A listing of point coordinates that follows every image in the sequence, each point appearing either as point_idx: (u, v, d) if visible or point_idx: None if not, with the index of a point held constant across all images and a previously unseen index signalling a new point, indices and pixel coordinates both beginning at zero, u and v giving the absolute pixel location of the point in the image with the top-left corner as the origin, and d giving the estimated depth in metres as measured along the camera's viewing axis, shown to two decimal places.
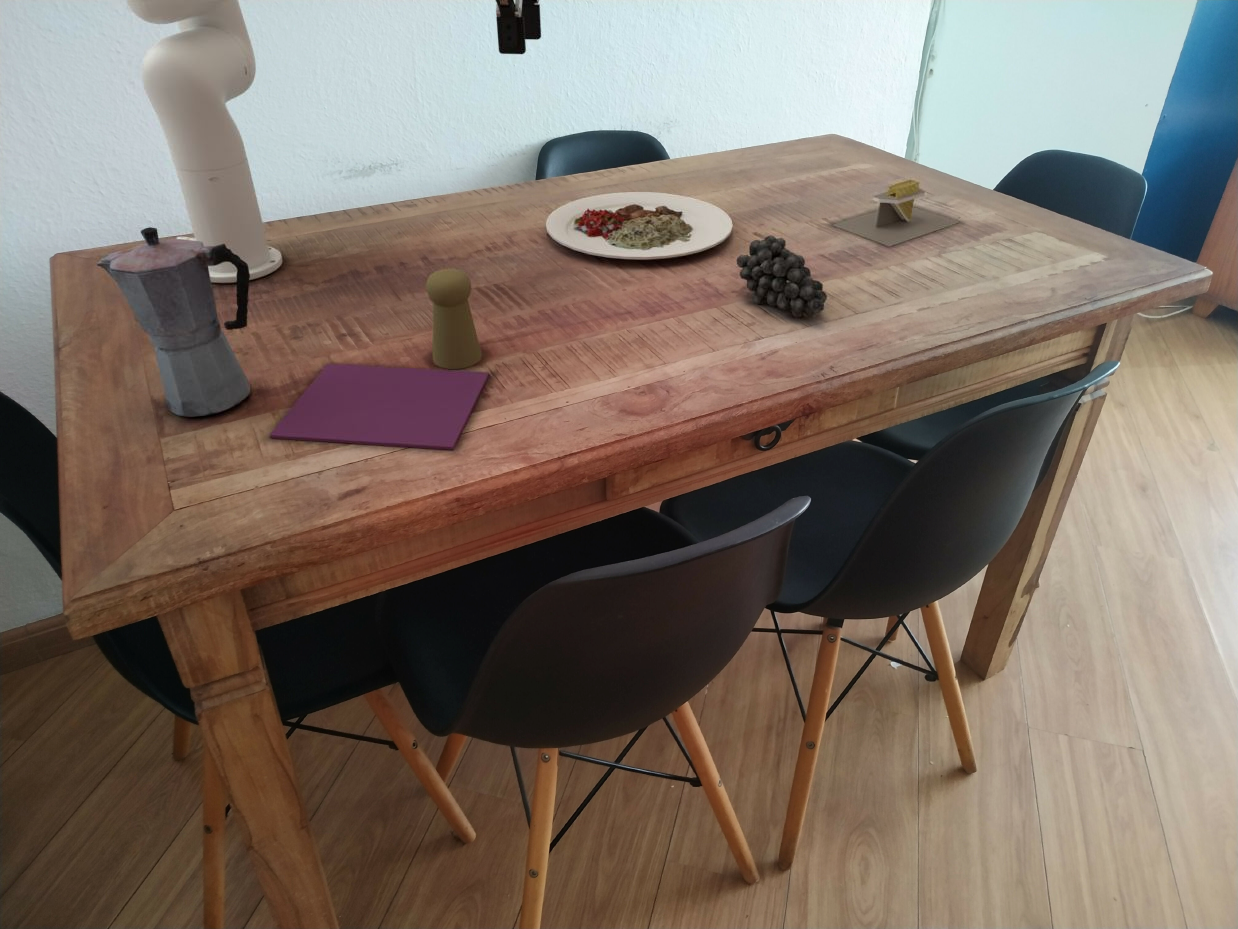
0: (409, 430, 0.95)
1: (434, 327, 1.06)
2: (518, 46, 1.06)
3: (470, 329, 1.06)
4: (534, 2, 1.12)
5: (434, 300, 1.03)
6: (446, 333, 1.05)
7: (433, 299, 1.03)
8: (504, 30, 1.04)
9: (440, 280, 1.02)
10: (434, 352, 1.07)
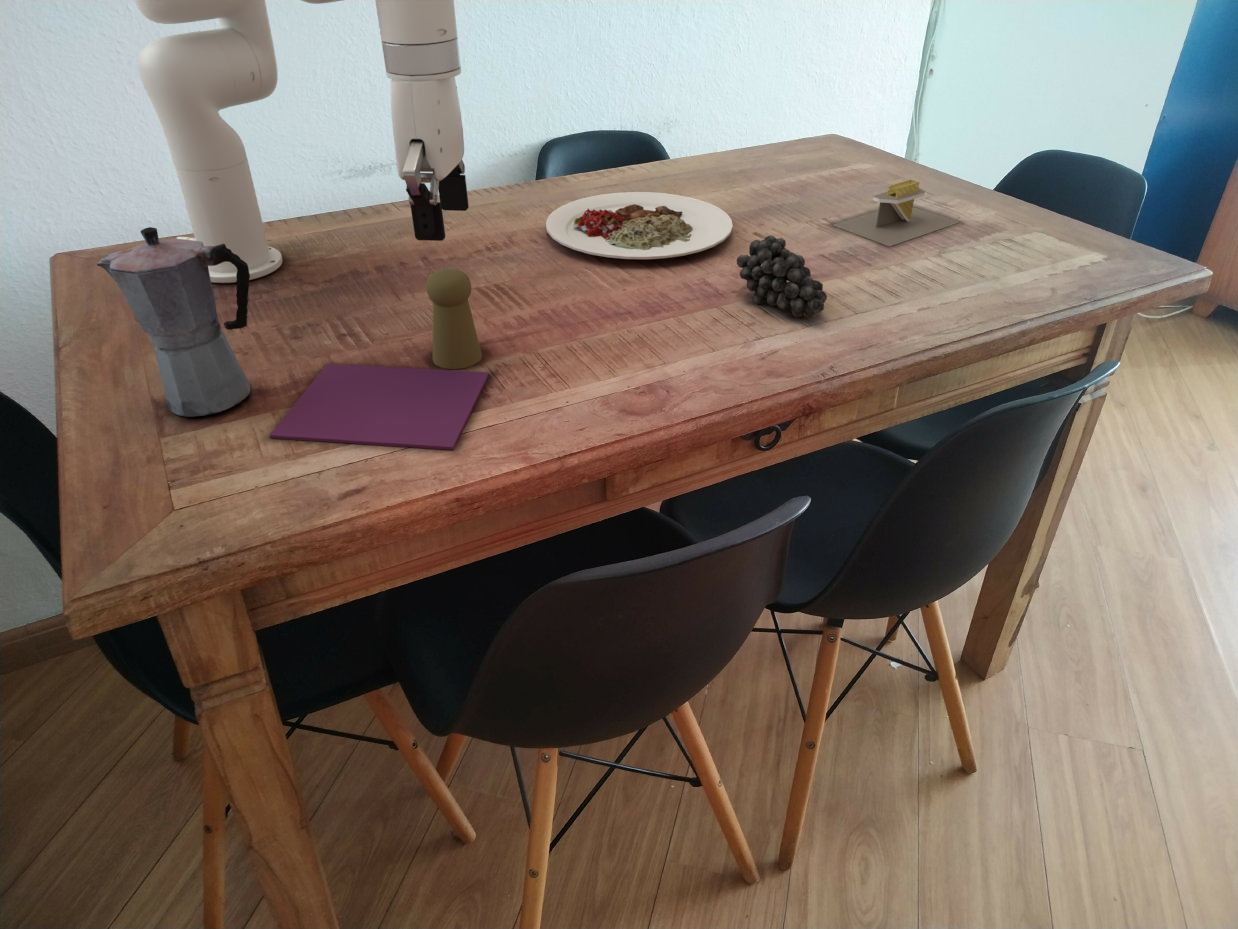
0: (409, 430, 0.95)
1: (434, 327, 1.06)
2: (436, 233, 0.95)
3: (470, 329, 1.06)
4: (459, 173, 1.01)
5: (434, 300, 1.03)
6: (446, 333, 1.05)
7: (433, 299, 1.03)
8: (419, 218, 0.93)
9: (440, 280, 1.02)
10: (434, 352, 1.07)
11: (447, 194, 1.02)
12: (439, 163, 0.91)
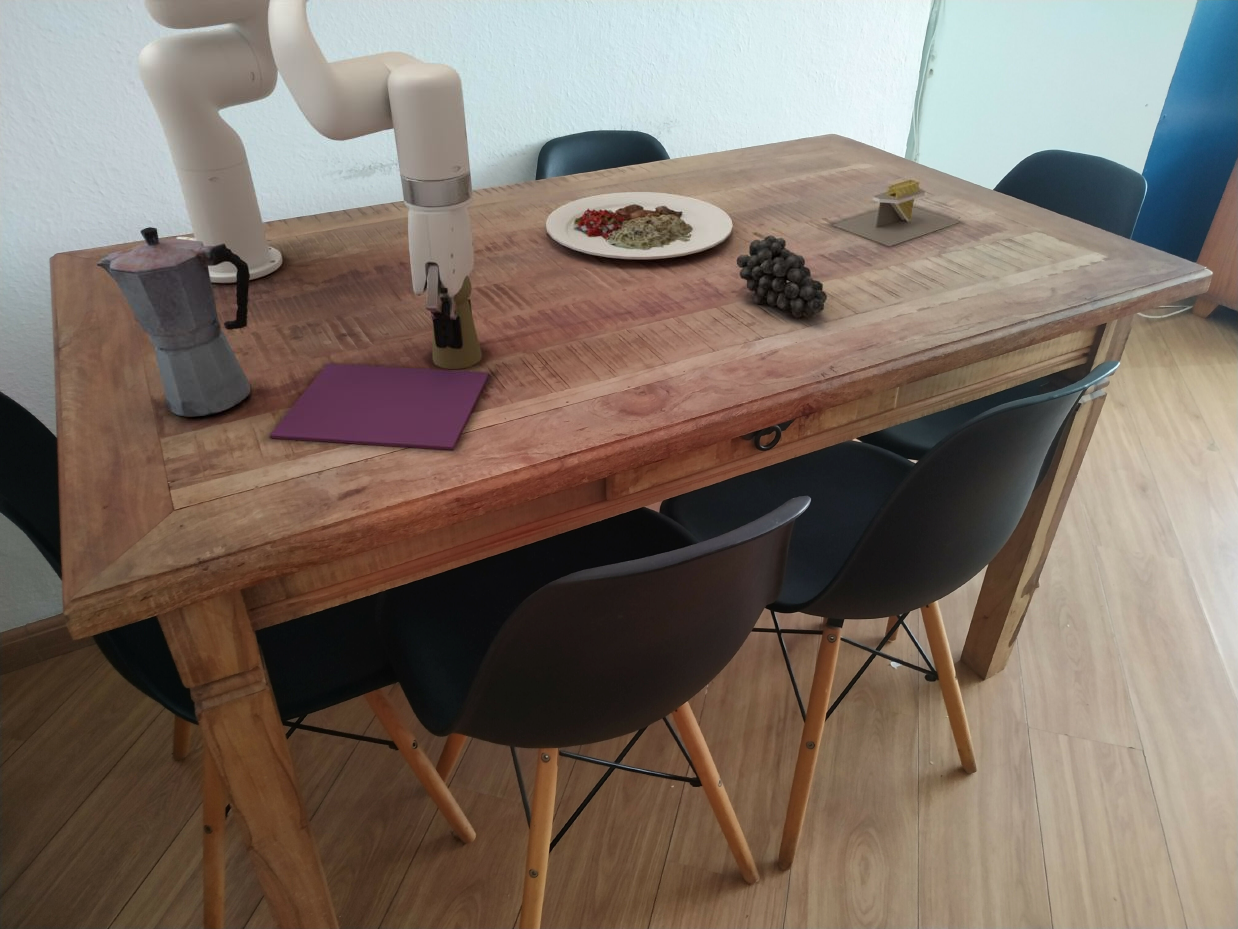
0: (409, 430, 0.95)
1: None
2: (455, 342, 1.05)
3: (470, 329, 1.06)
4: None
5: None
6: None
7: None
8: (440, 330, 1.04)
9: None
10: (434, 352, 1.07)
11: None
12: (452, 283, 0.99)
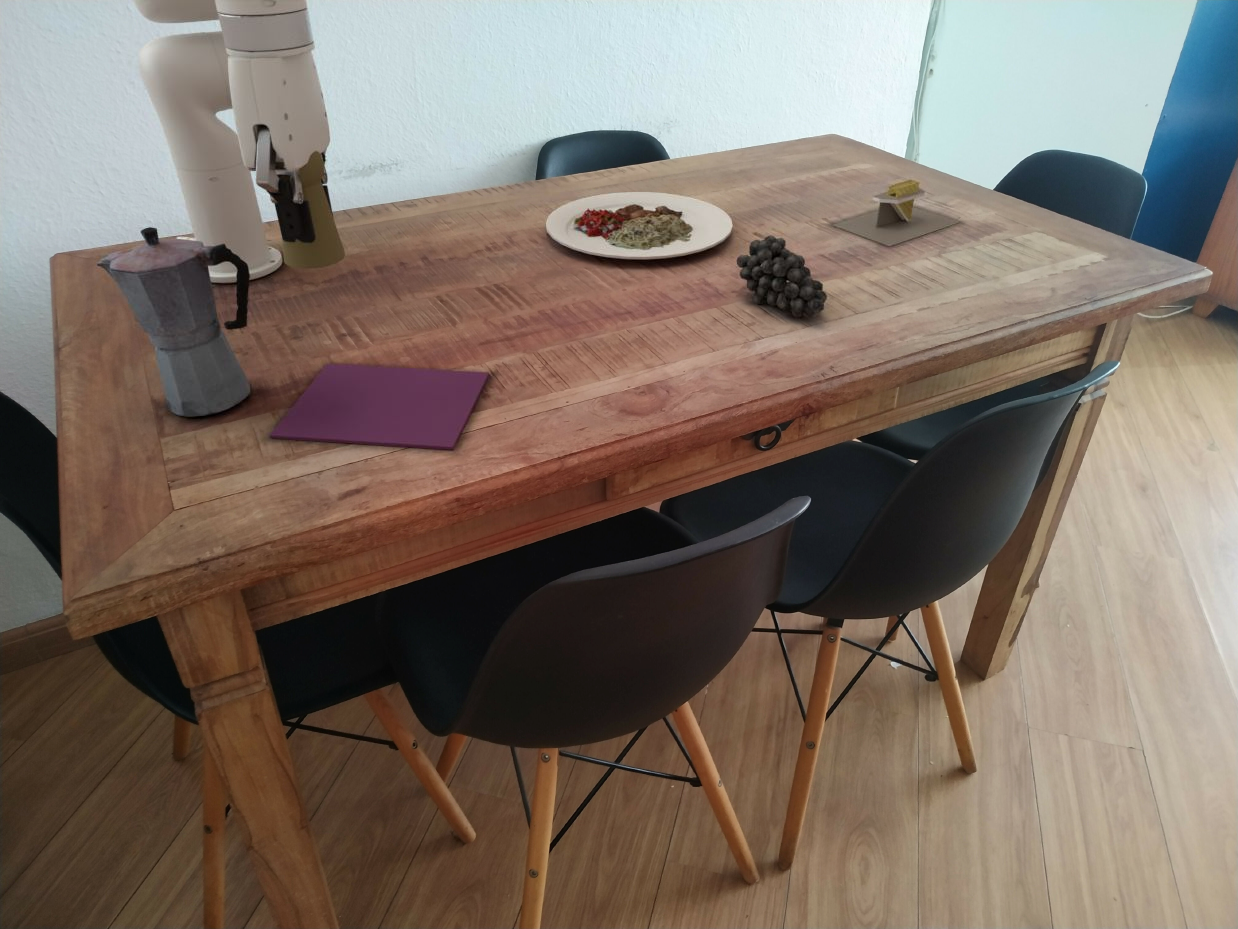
0: (409, 430, 0.95)
1: None
2: (305, 234, 0.87)
3: (325, 219, 0.87)
4: None
5: None
6: None
7: None
8: (284, 218, 0.85)
9: None
10: (283, 249, 0.89)
11: None
12: (289, 152, 0.80)
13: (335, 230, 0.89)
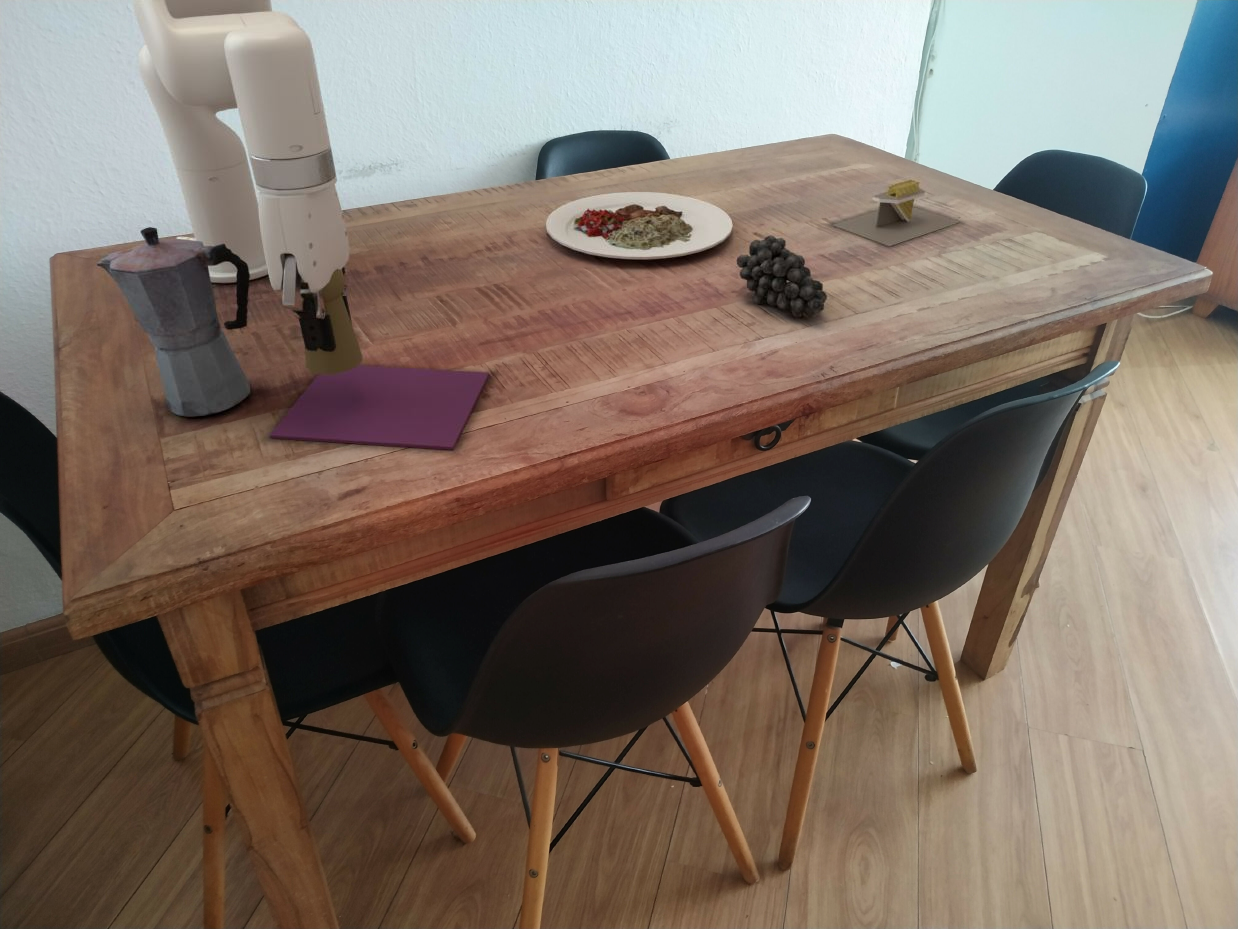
0: (409, 430, 0.95)
1: None
2: (326, 344, 0.93)
3: (344, 329, 0.94)
4: None
5: None
6: None
7: None
8: (307, 331, 0.92)
9: None
10: (306, 355, 0.95)
11: None
12: (313, 277, 0.87)
13: (354, 337, 0.96)
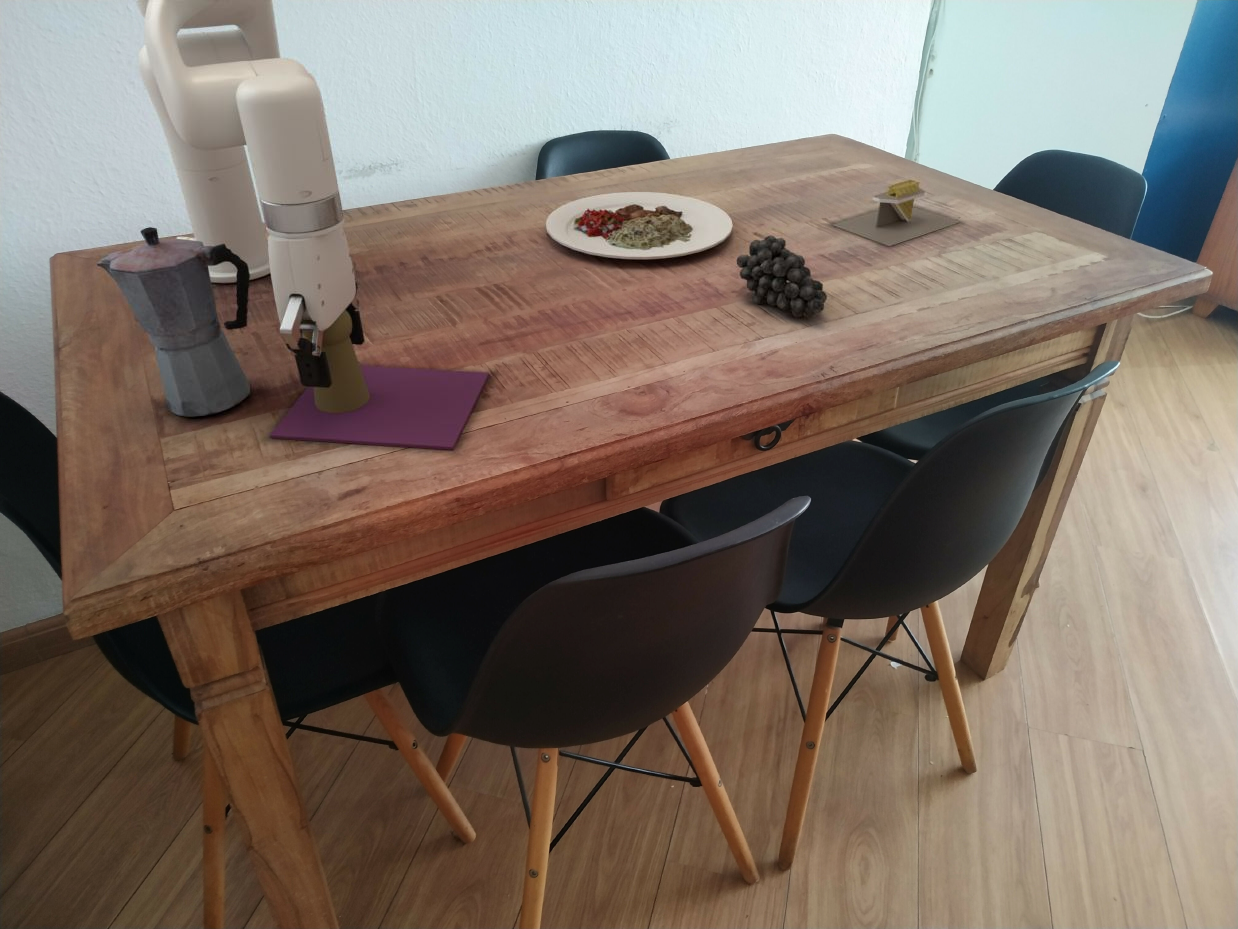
0: (409, 430, 0.95)
1: None
2: (322, 380, 0.93)
3: (352, 369, 0.97)
4: (353, 309, 0.99)
5: (309, 339, 0.94)
6: None
7: (308, 338, 0.94)
8: (303, 367, 0.92)
9: None
10: (315, 394, 0.98)
11: None
12: (321, 316, 0.89)
13: (361, 377, 0.99)
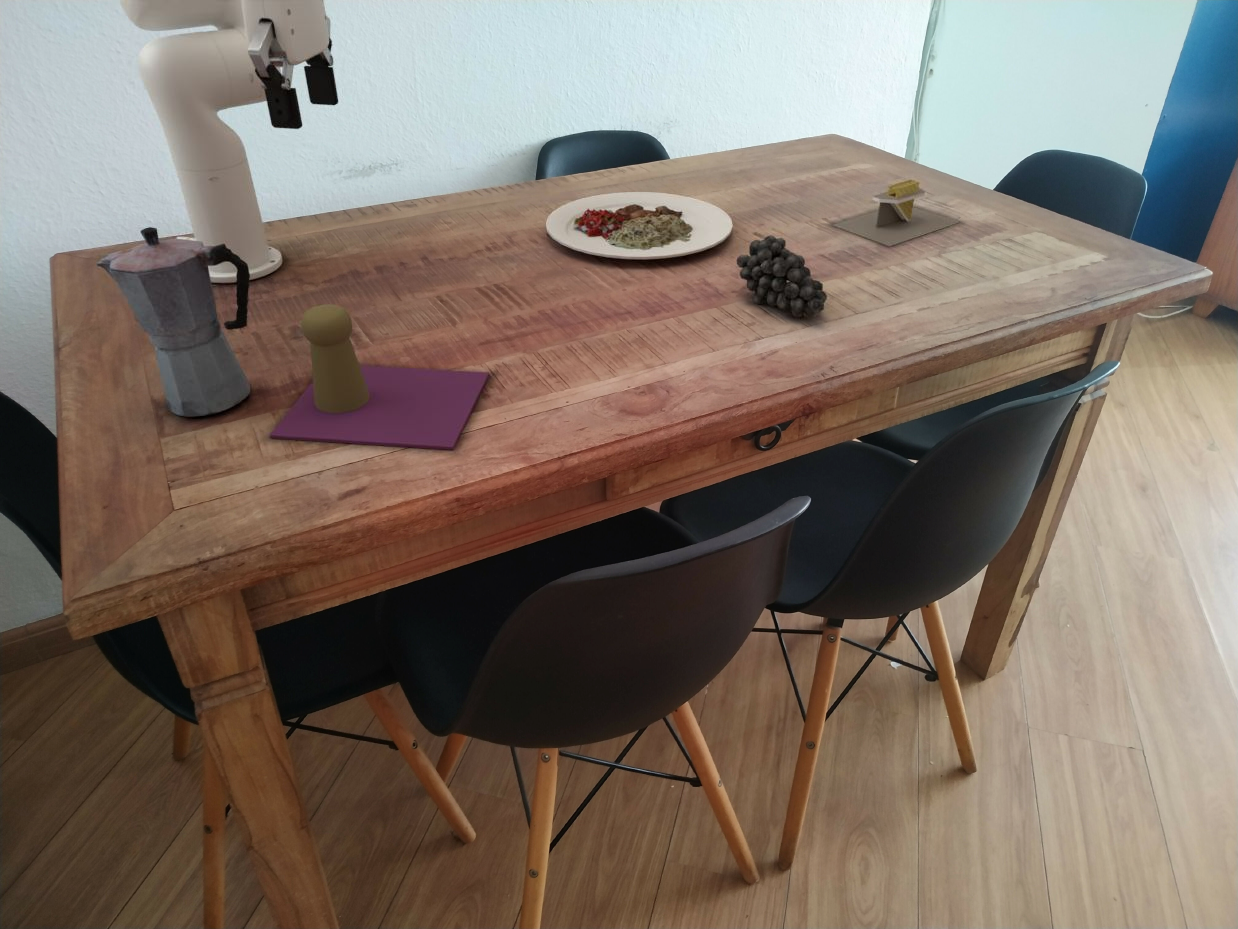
0: (409, 430, 0.95)
1: (313, 368, 0.97)
2: (292, 120, 0.93)
3: (352, 369, 0.97)
4: (326, 64, 1.00)
5: (309, 339, 0.94)
6: (324, 374, 0.96)
7: (308, 338, 0.94)
8: (273, 103, 0.92)
9: (314, 318, 0.93)
10: (315, 394, 0.98)
11: (315, 87, 1.00)
12: (291, 45, 0.89)
13: (361, 377, 0.99)
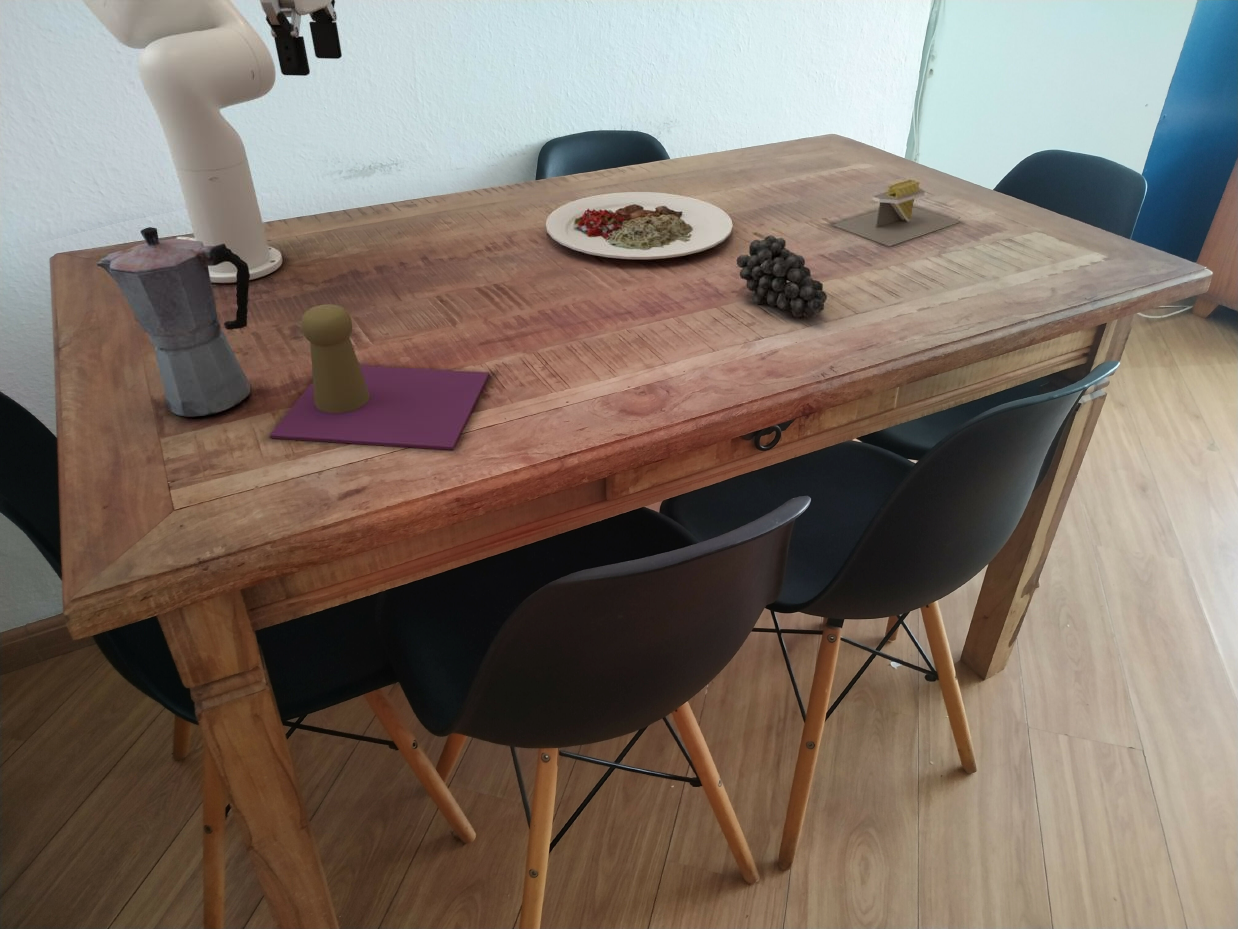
0: (409, 430, 0.95)
1: (313, 368, 0.97)
2: (300, 67, 1.00)
3: (352, 369, 0.97)
4: (330, 20, 1.07)
5: (309, 339, 0.94)
6: (324, 374, 0.96)
7: (308, 338, 0.94)
8: (282, 51, 0.99)
9: (314, 318, 0.93)
10: (315, 394, 0.98)
11: (320, 41, 1.08)
12: None
13: (361, 377, 0.99)
